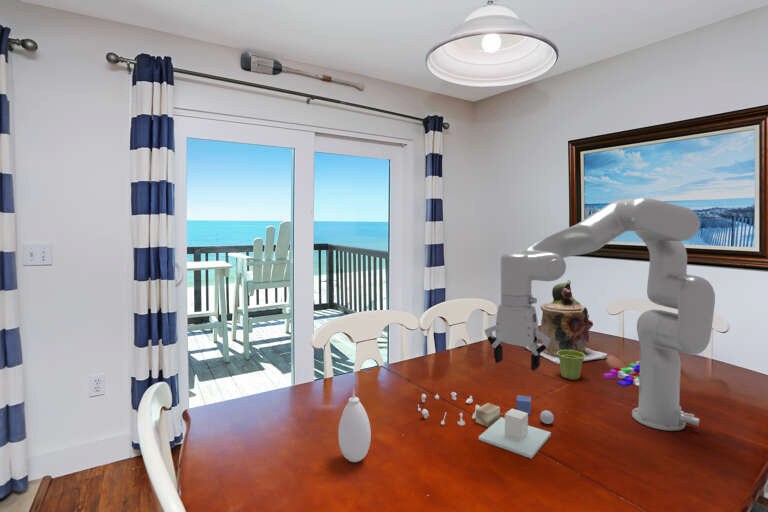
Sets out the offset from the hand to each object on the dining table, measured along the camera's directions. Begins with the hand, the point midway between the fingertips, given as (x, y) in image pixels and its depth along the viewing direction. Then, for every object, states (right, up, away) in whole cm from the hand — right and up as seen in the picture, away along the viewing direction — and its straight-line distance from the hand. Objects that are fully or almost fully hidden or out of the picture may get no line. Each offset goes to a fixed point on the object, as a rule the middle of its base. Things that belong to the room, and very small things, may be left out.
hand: (516, 365), depth 106 cm
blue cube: (+8, -18, +17) cm, 26 cm away
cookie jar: (+44, -14, +70) cm, 84 cm away
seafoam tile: (0, -20, +1) cm, 20 cm away
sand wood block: (-5, -19, +11) cm, 22 cm away
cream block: (+1, -19, +2) cm, 19 cm away
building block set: (+59, -17, +41) cm, 74 cm away
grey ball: (+11, -17, +9) cm, 22 cm away
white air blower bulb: (-42, -21, -8) cm, 47 cm away
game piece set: (-15, -19, +18) cm, 30 cm away
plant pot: (+34, -16, +43) cm, 57 cm away
